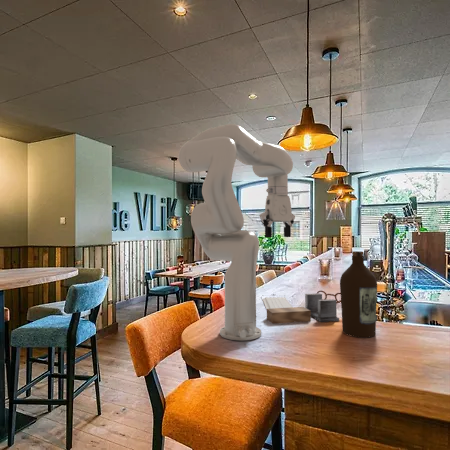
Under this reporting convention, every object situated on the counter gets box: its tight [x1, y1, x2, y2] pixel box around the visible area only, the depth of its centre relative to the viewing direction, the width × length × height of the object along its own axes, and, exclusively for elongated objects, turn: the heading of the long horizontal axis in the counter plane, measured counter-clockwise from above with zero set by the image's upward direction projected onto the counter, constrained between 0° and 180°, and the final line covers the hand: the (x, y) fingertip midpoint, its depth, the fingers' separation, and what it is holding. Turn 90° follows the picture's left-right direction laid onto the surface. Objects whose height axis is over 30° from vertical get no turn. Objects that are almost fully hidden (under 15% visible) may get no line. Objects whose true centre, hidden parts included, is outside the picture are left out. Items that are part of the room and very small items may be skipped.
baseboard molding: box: [260, 293, 293, 311], centre depth 134 cm, size 31×3×12 cm
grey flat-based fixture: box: [304, 292, 340, 323], centre depth 119 cm, size 15×7×7 cm, turn 9°
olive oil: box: [339, 250, 378, 339], centre depth 99 cm, size 11×11×25 cm
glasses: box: [315, 290, 341, 305], centre depth 139 cm, size 13×13×5 cm
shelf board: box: [266, 306, 312, 324], centre depth 114 cm, size 14×6×4 cm, turn 101°
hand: (278, 237), depth 123 cm, fingers open, 9 cm apart
